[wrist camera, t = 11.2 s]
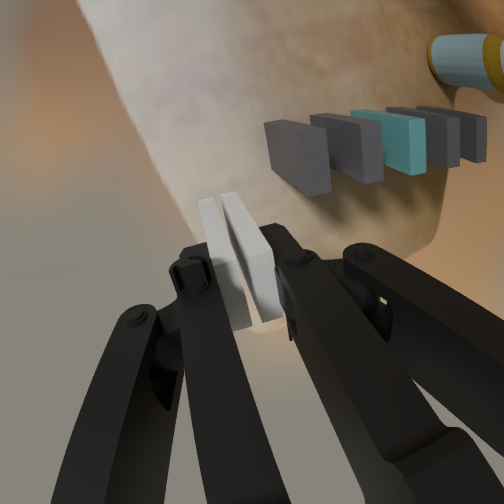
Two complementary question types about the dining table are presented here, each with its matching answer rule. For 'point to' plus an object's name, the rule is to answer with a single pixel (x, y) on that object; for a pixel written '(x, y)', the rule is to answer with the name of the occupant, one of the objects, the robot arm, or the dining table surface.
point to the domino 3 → (400, 140)
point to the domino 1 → (300, 155)
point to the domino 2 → (353, 146)
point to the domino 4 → (437, 135)
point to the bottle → (468, 60)
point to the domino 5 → (468, 133)
